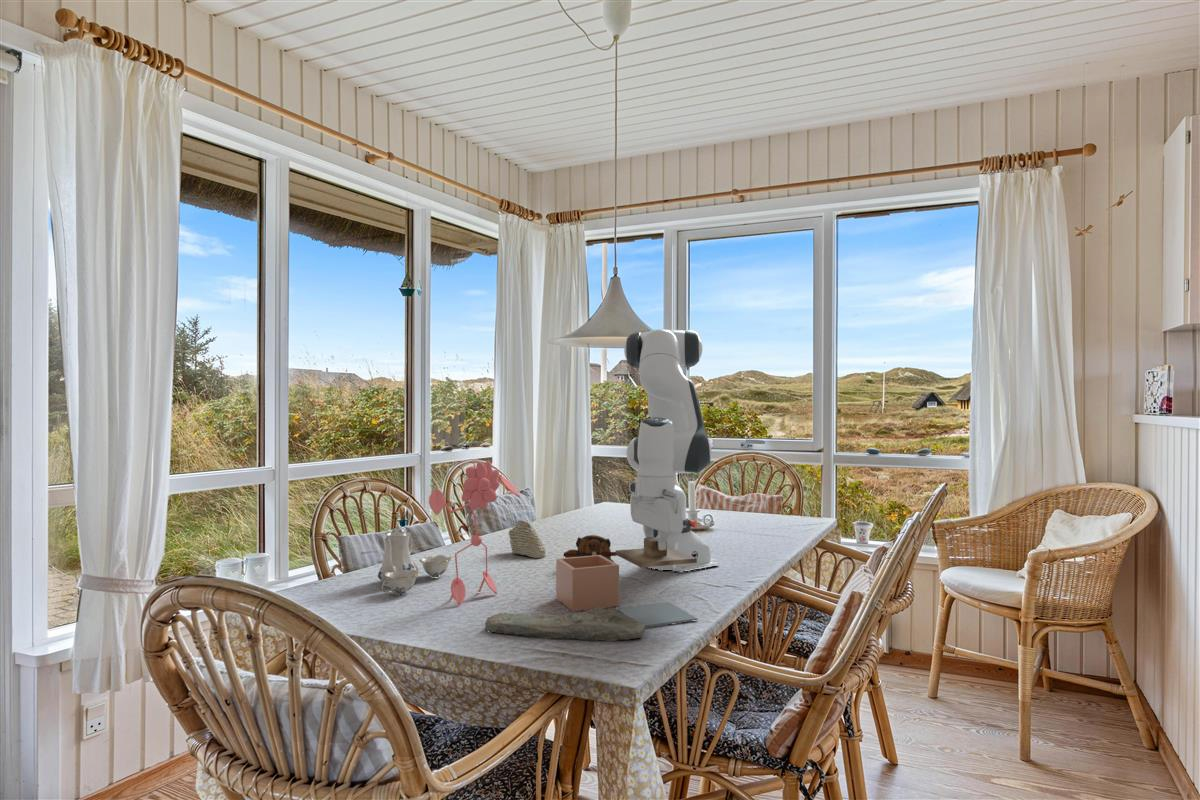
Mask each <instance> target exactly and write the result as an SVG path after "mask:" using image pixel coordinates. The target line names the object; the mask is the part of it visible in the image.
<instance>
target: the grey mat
mask: <svg viewBox="0 0 1200 800" xmlns="http://www.w3.org/2000/svg"><path fill="white" fill-rule="evenodd" d="M615 609H616V610H617V611H616V612H617V613H622V614H625V615H627V616H629V617H630V618H634V619H635V620H637V621H640V622H642V623H643V624H644V626H645V629H647V628H646V627H650V628H655V627H654V626H657V627H661V626H660V625H665V626H667V625H666V624H672V623H679V622H685V621H692V620H697V621H698V617H696V616H694V615H692V614H691V613H689V612H687V611H685V610H684V609H682V608H680V607H679V606H677V605H676V604H673V603H672V602H669V601H665V602H656V603H648V604H639V605H630V606H623V607H622V606H621V607H616V608H615ZM679 624H680V623H679ZM672 625H673V624H672Z"/></svg>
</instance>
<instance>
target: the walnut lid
mask: <svg viewBox="0 0 1200 800" xmlns="http://www.w3.org/2000/svg"><path fill="white" fill-rule="evenodd" d="M658 538H659V537H654V538H646V537H644V538H643V548H631V549H629V548H628V549H620V550H619V549H618V550H615V552H616V555H617V557H619V558H622V559H624V560H625V561H627V562H629V563H631V564H633V565H636V566H637V567H639V568H648V567H653V566H665V565H676V564H688V563H697V558H695V557H692V556H690V555H688V554H685V553H683V552H680V551H678V550H675V549H673V548H670V547H667V542H666V549H665V550H658V549H657V548H656V542H658Z"/></svg>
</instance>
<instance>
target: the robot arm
mask: <svg viewBox="0 0 1200 800" xmlns="http://www.w3.org/2000/svg"><path fill="white" fill-rule="evenodd" d="M623 347H624V348H623V349H624V350H623V351H624V356H625V360H626V363H627V365H628V366H630V367H631V368H633V369H638V373H639V375H638V376H639V382H640V385H641V387H642V388H643V390H644V391H645V392H646V393H647V413H648V416H649V417H647V418H644V419H643V420H641V421H640V424H639V429H638V430H639V431H638V435H637V437H634V438H632V439H631V440H630V441H629V443H628V444H627V448H626V460H627V462H628V464H629V466H630V467H631V468H632V469H633V470H635V471H636V472H637V473H636V479H635V480H633V481H632V482H630V483H629V485H628V491H629V493H630V496H629V497H630V498H629V499H630V500H629V502H630V503H629V504H630V506H629V507H630V517H631V520H632V522H634V523H637V524H640V525H642V527H643V529H642V530H643V533H644V536H645V537H644V538H654V537H659V538H658V542H656V548H657V549H658V550H665V549H666V542H667V547H670V548H673V549H675V550H678V551H680V552H683V553H685V554H688V555H690V556H692V557H695V558H697V563H688V564H676V565H665V566H653V567H647V568H648V569H651V568H652V570H655V569H658V570H657V571H663V570H674V571H685V570H690V569H695V568H699V567H704V566H708V565H714V564H717V563H718V564H719V561H718V560H717V559H715V558H712V556H711V549H710V547H709V544H708V543H707V542H706V540H704V539H702V538H701V536H698V535H697V534H696V533H695V532H693V531H692V528H697V527H698V525H699V523H698V521H697V520H693V519H692V520H691V519H689V518H687V495H686V493H685V491H684V489H682V488H681V486H678V485H676V474H695V473H697V474H698V473H701V472H703V471H705V470H706V469H707V468H708V466H709V465H710V464H711V459H712V446H711V442H710V439H709V438H708V435H707V431H706V428H705V423H704V419H703V413H702V409H701V405H700V401H699V398H698V397H699V396H698V394H697V389H696V386H695V383H694V382H693V381H692V380H691V379H689V378H687V377H686V376H685V375H684V370H683V367H684V368H685V367H686V368H685V369H686V371H689V369H690V368H691V367H694V366H696V365H697V364H698V363H699V362H700V360H701V357H702V354H703V342H702V340H701V338H700V335H699V334H698V331H695V330H691V329H685V330H681V329H662V328H659V329H654V330H651V331H645V332H640V331H638V332H637V331H636V332H634V333H630V334H629V336H628V337H627V338H626V341H625V344H624V346H623ZM713 561H717V562H713ZM674 571H673V572H674Z"/></svg>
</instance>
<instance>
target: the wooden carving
mask: <svg viewBox="0 0 1200 800" xmlns="http://www.w3.org/2000/svg"><path fill="white" fill-rule="evenodd" d="M575 545H576V547H577V549H568V550H566V551H564V553H563V557H564V558H570V557H581V556H592V555H602V556H603V557H605V558H607V559H609V560H611V561H613V562H614V563H615V561H614V559H612V557H615V556H617V555H616V551H611V545H612V543H611V540H610V538H605V537H602V536H600V535H597V534H588V535H585V536H583V537H580V536H578V537H577V540H576V542H575ZM617 557H618V556H617Z"/></svg>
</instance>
